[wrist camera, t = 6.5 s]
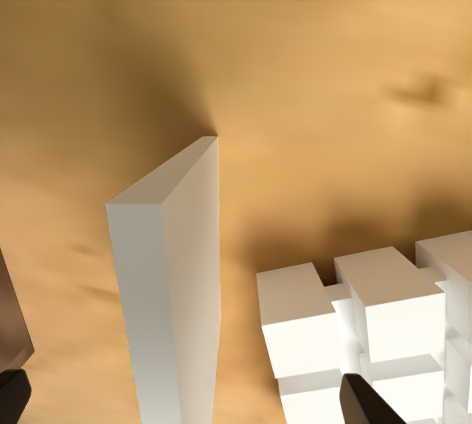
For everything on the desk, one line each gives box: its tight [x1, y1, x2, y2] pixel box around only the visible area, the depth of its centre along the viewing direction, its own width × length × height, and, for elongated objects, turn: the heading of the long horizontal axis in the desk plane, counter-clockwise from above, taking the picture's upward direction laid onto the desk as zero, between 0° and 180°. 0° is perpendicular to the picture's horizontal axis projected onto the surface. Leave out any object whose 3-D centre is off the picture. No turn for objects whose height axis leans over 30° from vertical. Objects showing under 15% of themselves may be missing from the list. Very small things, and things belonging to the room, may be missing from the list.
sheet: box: [105, 136, 221, 424], centre depth 11 cm, size 12×1×11 cm, turn 0°
